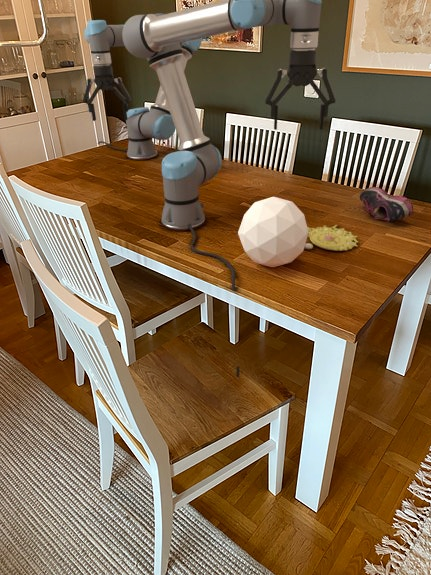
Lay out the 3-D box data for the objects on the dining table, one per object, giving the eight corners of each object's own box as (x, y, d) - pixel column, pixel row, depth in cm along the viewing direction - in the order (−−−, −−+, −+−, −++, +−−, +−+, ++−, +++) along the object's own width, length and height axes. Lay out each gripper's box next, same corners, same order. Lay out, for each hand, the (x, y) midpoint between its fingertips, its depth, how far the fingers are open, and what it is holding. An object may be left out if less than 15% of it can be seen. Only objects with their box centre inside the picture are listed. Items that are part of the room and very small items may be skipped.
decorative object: (343, 255, 128) (285, 234, 139) (342, 262, 130) (284, 241, 140) (372, 230, 142) (317, 213, 152) (371, 237, 143) (316, 219, 153)
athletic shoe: (369, 185, 163) (343, 194, 159) (416, 181, 144) (388, 190, 140) (374, 215, 166) (349, 224, 162) (420, 215, 146) (393, 225, 143)
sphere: (280, 289, 130) (288, 262, 111) (225, 253, 134) (224, 221, 116) (315, 241, 135) (328, 208, 116) (260, 208, 139) (265, 171, 121)
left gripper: (68, 66, 175) (78, 122, 187) (131, 65, 174) (137, 121, 186) (74, 64, 182) (83, 118, 193) (134, 63, 181) (140, 117, 192)
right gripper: (258, 51, 121) (256, 131, 132) (351, 49, 119) (341, 131, 130) (258, 49, 127) (256, 125, 138) (347, 47, 125) (337, 125, 136)
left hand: (110, 120), depth 189 cm, fingers open, 13 cm apart
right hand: (297, 128), depth 134 cm, fingers open, 13 cm apart
